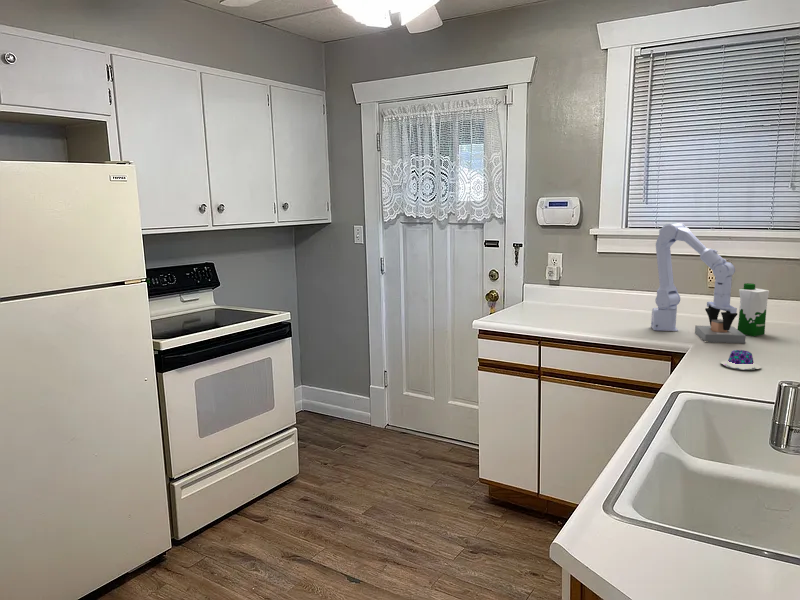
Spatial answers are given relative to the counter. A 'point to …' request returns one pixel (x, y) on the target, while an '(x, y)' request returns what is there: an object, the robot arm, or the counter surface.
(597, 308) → the counter surface
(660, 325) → the robot arm
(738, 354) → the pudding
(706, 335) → the outlet box
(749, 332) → the milk carton
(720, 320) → the tan rectangular block
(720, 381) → the counter surface
